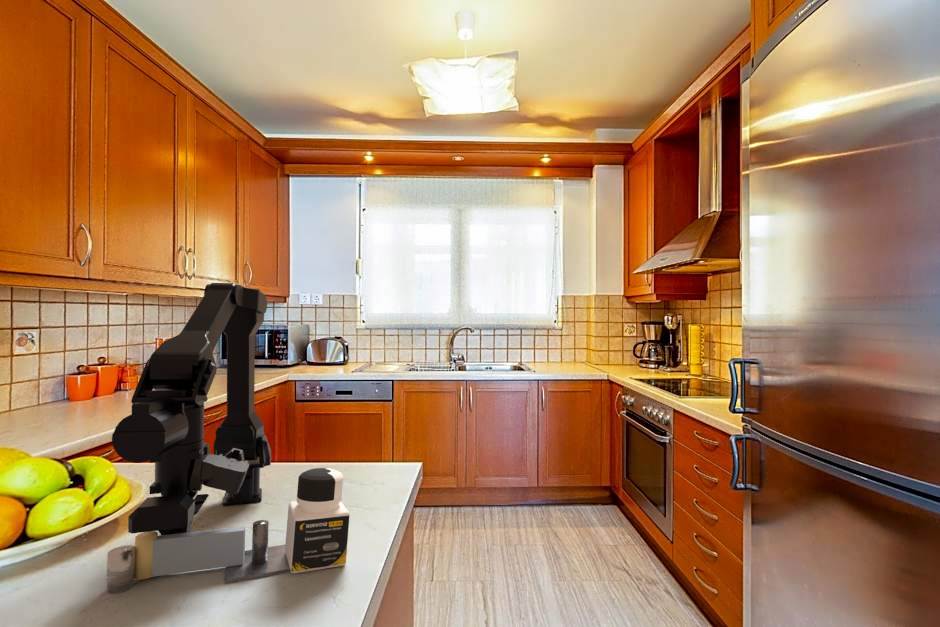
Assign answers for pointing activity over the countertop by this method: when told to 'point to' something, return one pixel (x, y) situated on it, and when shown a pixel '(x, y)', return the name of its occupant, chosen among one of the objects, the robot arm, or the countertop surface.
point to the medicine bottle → (317, 522)
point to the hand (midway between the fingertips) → (179, 556)
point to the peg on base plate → (259, 557)
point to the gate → (188, 551)
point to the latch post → (120, 569)
